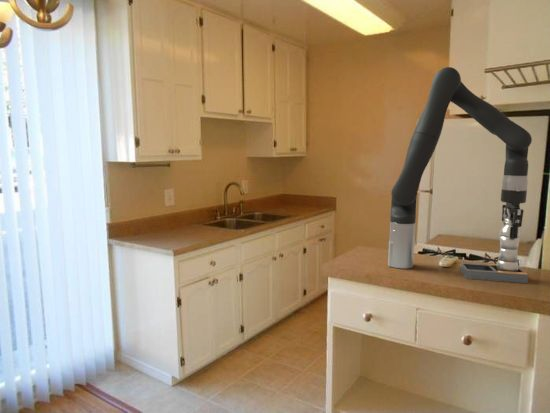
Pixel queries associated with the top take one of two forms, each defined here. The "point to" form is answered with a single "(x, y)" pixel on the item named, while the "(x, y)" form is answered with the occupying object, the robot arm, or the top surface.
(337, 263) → the top surface
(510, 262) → the plastic bottle
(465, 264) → the grey tray
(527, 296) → the top surface
